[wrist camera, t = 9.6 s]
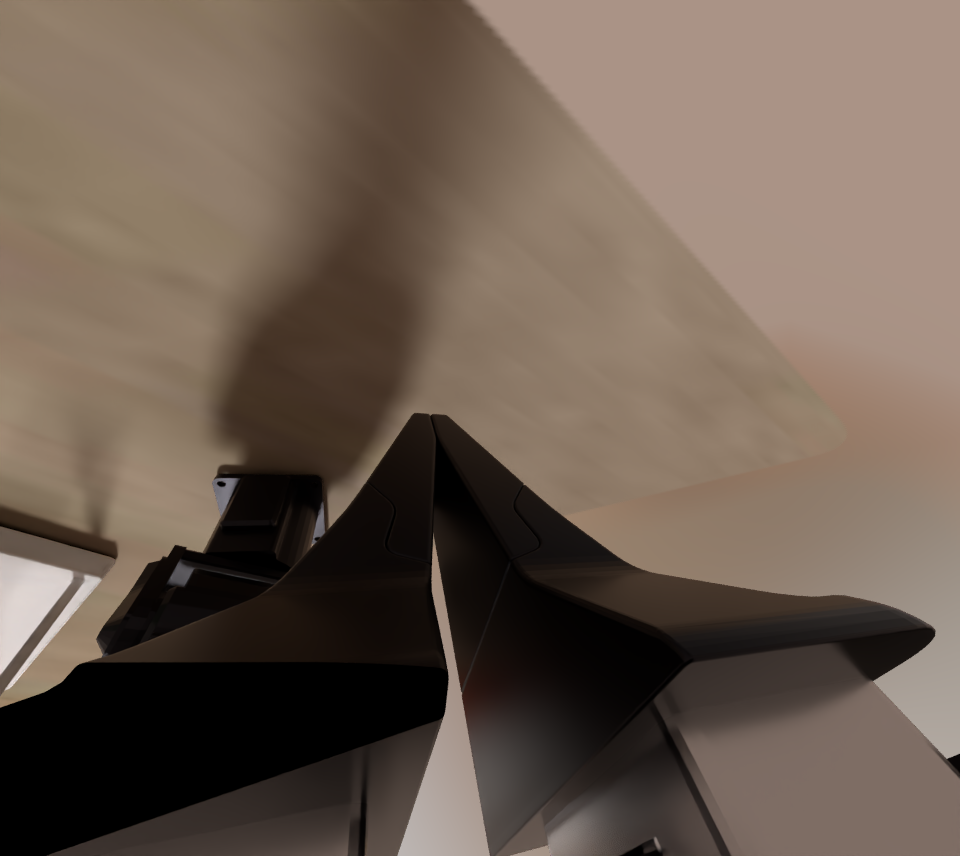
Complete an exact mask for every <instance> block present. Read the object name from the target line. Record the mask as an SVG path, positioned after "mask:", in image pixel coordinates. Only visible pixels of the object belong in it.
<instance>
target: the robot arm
mask: <svg viewBox="0 0 960 856" xmlns="http://www.w3.org/2000/svg"><path fill="white" fill-rule="evenodd" d="M220 481H223V482H225V483H222V482H220ZM312 482H316V483H317V484H314V483H312ZM212 484H213V488H214V492H215V496H216V499H217V503H218V507H219V511H220V515H221V518H220V520H219V522H218V524H217V526H216V528H215V530H214V532H213V534H212V536H211V538H210V540H209V542H208V544H207V545H206V547H205V549H204V551H203V553H201V552H196V551H192V550H187V549H186V548H187V547H182V546H178V545H175V546H174V548H173V549H172V551H171V553H170V554H169V556H168V557H164V556H163V557H162V559H161V560H160V561H156V562H152V563H148V565H147V566H146V568H145V569H144V571H143V572H142V574H141V576H140V577H139V579H138V580H137V582H136V583H135V585H134V586H133V588H132V589H131V591H130V592H129V594H128V595H127V596H126V598H125V599H124V600H123V602H122V603H121V604H120V605H119V607H118V608H117V609H116V611H115V612H114V613H113V614H112V616H111V617H110V618H109V620H108V621H107V622H106V623H105V625H104V626H103V628H102V630H101V631H100V633H99V635H98V636H97V638H96V640H97V643H98V645H99V647H100V649H101V651H102V653H103V656H102V658H99V659H95V660H92V661H88V662H85V663H82V664H79V665H77V666H76V667H75V668H74V669H73V670H72V672H71V673H70V674H69V675H68V676H67V677H66V678H65V679H64V681H63V682H61V683H60V684H58V685H56V686H55V687H53V688H51V689H50V690H48V691H46V692H44V693H41V694H38V695H36V696H33V697H30V698H27V699H24V700H21V701H18V702H15V703H12V704H9V705H7V706H4V707H1V708H0V856H397V855H398V852H399V849H400V846H401V843H402V840H403V837H404V834H405V831H406V828H407V825H408V822H409V819H410V816H411V813H412V810H413V807H414V804H415V801H416V798H417V795H418V792H419V789H420V786H421V783H422V780H423V777H424V774H425V771H426V768H427V765H428V762H429V759H430V756H431V753H432V750H433V747H434V744H435V741H436V738H437V735H438V732H439V729H440V726H441V723H442V720H443V717H444V714H445V708H446V699H447V690H448V680H449V679H448V669H447V664H446V658H445V654H444V649H443V644H442V639H441V634H440V629H439V624H438V620H437V615H436V610H435V605H434V600H433V595H432V584H431V577H432V576H431V575H432V568H431V567H432V549H433V533H434V539H435V545H436V550H437V556H438V562H439V568H440V573H441V579H442V584H443V590H444V595H445V602H446V607H447V613H448V619H449V625H450V630H451V636H452V641H453V647H454V653H455V659H456V664H457V670H458V675H459V682H460V687H461V692H462V700H463V705H464V711H465V717H466V723H467V728H468V734H469V740H470V745H471V750H472V757H473V762H474V768H475V774H476V779H477V785H478V791H479V797H480V802H481V808H482V814H483V820H484V825H485V831H486V836H487V842H488V848H489V853H490V856H510V855H513V854H517V853H521V852H525V851H528V850H532V849H536V848H539V847H543V846H546V845H548V847H549V851H550V856H960V754H958V755H956V756H953V757H951V758H948V759H946V758H945V757H944V756H943V755H942V754H941V753H940V752H939V751H938V749H937V748H935V746H934V745H932V743H931V742H930V741H929V740H928V739H927V738H926V737H925V736H924V735H923V734H922V733H921V732H920V731H919V730H918V728H917V727H916V726H915V725H914V724H913V723H912V722H911V721H910V720H909V719H908V718H907V717H906V716H905V715H904V714H903V713H902V712H901V711H900V710H899V709H898V708H897V706H896V705H895V704H894V703H893V702H892V701H891V700H890V699H889V698H888V697H887V696H886V695H885V694H884V693H883V692H882V691H881V690H880V689H879V687H878V686H876V684H875V683H874V682H873V681H874V680H875V679H877V678H879V677H880V676H882V675H883V674H885V673H887V672H888V671H890V670H892V669H893V668H895V667H897V666H898V665H900V664H901V663H903V662H905V661H906V660H908V659H909V658H911V657H912V656H914V655H915V654H917V653H918V652H919V651H920V650H922V649H923V648H925V647H926V646H927V645H928V644H929V643H930V642H931V641H932V639H933V638H934V637H935V629H934V628H933V627H932V626H931V625H929V624H927V623H926V622H924V621H922V620H920V619H918V618H917V617H914V616H912V615H910V614H908V613H906V612H903V611H901V610H899V609H896V608H893V607H891V606H887V605H884V604H881V603H877V602H873V601H868V600H864V599H860V598H854V597H850V596H844V595H830V596H820V597H808V596H794V595H786V594H777V593H769V592H763V591H757V590H751V589H745V588H739V587H733V586H727V585H722V584H715V583H709V582H703V581H698V580H692V579H686V578H680V577H674V576H668V575H662V574H656V573H652V572H648V571H645V570H642V569H640V568H637V567H635V566H632V565H631V564H629V563H627V562H625V561H623V560H622V559H620V558H619V557H617V556H616V555H615V554H613V553H612V552H610V551H609V550H608V549H606V548H605V547H604V546H602V545H601V544H600V543H598V542H597V541H596V540H594V539H593V538H592V537H590V536H589V535H587V534H586V533H585V532H583V531H582V530H581V529H579V528H578V527H577V526H575V525H574V524H573V523H571V522H570V521H568V520H567V519H566V518H565V517H563V516H562V515H561V514H560V513H558V512H557V511H556V510H554V509H553V508H552V507H550V506H549V505H548V504H547V503H546V502H545V501H543V500H542V499H541V498H540V497H539V496H537V495H536V494H535V493H534V492H533V491H532V490H531V489H529V488H528V487H527V486H526V485H524V484H523V482H521V481H520V480H519V479H518V478H517V477H516V476H515V475H514V474H512V473H511V472H510V471H509V470H508V469H507V468H506V467H505V466H503V465H502V464H501V463H500V462H499V461H498V460H497V459H496V458H494V457H493V456H492V455H491V454H490V453H489V452H488V451H487V450H485V449H484V448H483V447H482V446H481V445H480V444H479V443H478V442H476V441H475V440H474V439H473V438H472V437H471V436H470V435H469V434H467V433H466V432H465V431H464V430H463V429H462V428H461V427H460V426H458V425H457V424H456V423H455V422H454V421H453V420H452V419H451V418H449V417H448V416H447V415H440V414H432V415H431V416H430V415H429V414H424V413H414V414H413V415H412V416H411V417H410V419H409V420H408V422H407V423H406V425H405V426H404V428H403V429H402V431H401V432H400V433H399V435H398V436H397V438H396V439H395V441H394V442H393V444H392V445H391V447H390V448H389V450H388V451H387V452H386V454H385V455H384V457H383V458H382V460H381V461H380V463H379V464H378V466H377V467H376V468H375V470H374V471H373V473H372V474H371V476H370V477H369V479H368V480H367V482H366V484H364V486H363V487H362V489H361V490H360V491H359V493H358V494H357V496H356V497H355V498H354V500H353V501H352V502H351V504H350V505H349V506H348V508H347V509H346V510H345V511H344V512H343V514H342V515H341V516H340V517H339V518H338V519H337V520H336V521H335V523H334V524H333V525H332V526H331V527H330V528H329V529H328V530H327V531H326V530H325V509H324V488H323V479H322V478H321V477H319V476H315V475H253V474H219V475H217V476H216V477H215V478H214V480H213V483H212ZM523 485H524V486H523ZM312 544H314V545H313V546H312V547H311V545H312Z"/></svg>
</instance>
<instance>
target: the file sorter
mask: <svg viewBox="0 0 960 856" xmlns="http://www.w3.org/2000/svg"><path fill="white" fill-rule="evenodd" d="M114 564H115V559H114V558H111V557H109V556H105V555H101V554H98V553H94V552H90V551H87V550H83V549H80V548H76V547H72V546H69V545H65V544H62V543H58V542H55V541H51V540H48V539H44V538H41V537H37V536H33V535H30V534H26V533H22V532H19V531H15V530H12V529H8V528H4V527H0V696H1V694H2V693H3V692H4V690H7V689H9V688H11V687H12V686H13V685H14V683H15V682H16V681H17V680H18V679H19V677H20V676H21V675H22V674H23V673H24V672H25V670H26V669H27V668H28V667H29V666H30V665H31V663H32V662H33V661H34V660H35V659H36V657H37V656H38V655H39V654H40V653H41V652H42V650H43V649H44V648H45V647H46V646H47V644H48V643H49V642H50V641H51V640H52V639H53V637H54V636H55V635H56V634H57V633H58V631H59V630H60V629H61V628H62V627H63V626H64V624H65V623H66V622H67V621H68V620H69V618H70V617H71V616H72V615H73V614H74V612H75V611H76V610H77V609H78V608H79V607H80V605H81V604H82V603H83V602H84V601H85V600H86V598H87V597H88V596H89V595H90V594H91V592H92V591H93V590H94V589H95V588H96V587H97V585H98V584H99V583H100V582H101V581H102V579H103V578H104V577H105V576H106V574H107V573H108V572H109V570H110V569H111V568H112V566H113V565H114Z"/></svg>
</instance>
